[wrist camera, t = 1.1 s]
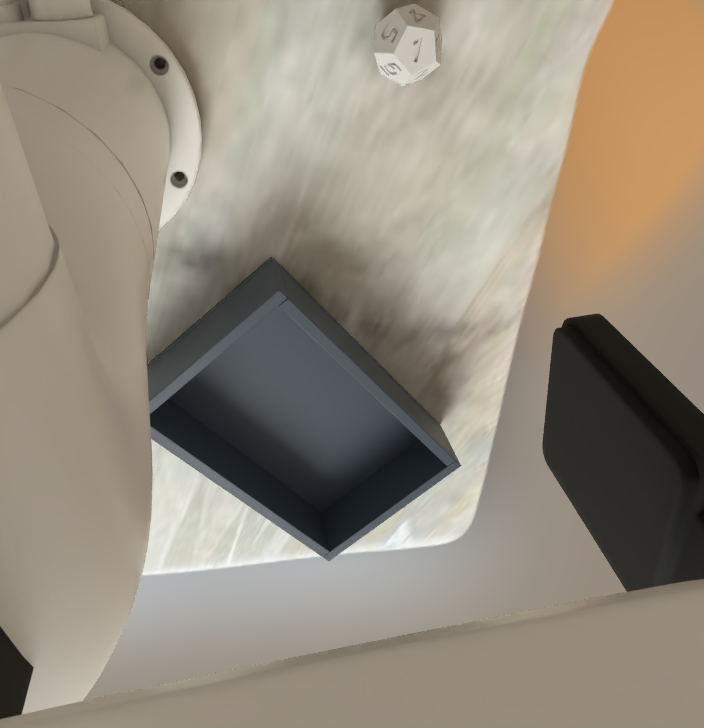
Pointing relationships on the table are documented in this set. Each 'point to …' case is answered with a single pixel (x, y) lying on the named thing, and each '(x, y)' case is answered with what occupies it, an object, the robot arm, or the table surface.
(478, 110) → the table surface
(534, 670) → the robot arm
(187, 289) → the table surface
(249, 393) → the box
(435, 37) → the game die
